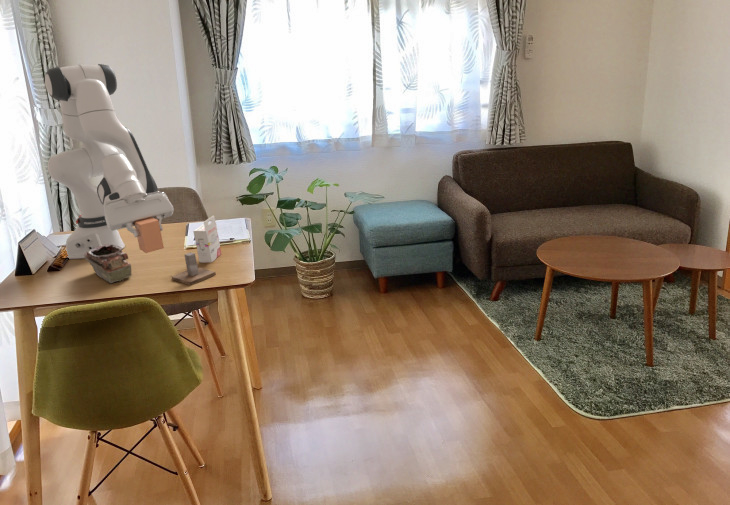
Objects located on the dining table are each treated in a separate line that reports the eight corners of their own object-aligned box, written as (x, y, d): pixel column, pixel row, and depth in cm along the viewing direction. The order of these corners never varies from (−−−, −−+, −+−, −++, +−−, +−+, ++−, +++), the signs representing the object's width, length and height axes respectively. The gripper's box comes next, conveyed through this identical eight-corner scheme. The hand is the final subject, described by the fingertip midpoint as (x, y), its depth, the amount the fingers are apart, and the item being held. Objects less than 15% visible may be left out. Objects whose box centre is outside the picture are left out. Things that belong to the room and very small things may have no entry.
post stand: (171, 279, 203) (167, 256, 201) (197, 269, 211) (193, 246, 208) (190, 285, 197) (185, 261, 195) (215, 274, 204) (211, 251, 202)
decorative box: (93, 290, 200) (86, 262, 196) (78, 274, 215) (71, 248, 212) (134, 278, 207) (128, 251, 204) (117, 264, 222) (111, 238, 219)
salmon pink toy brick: (139, 249, 194) (133, 221, 191) (157, 244, 197) (151, 217, 194) (146, 253, 190) (140, 224, 187) (163, 248, 193) (158, 220, 190)
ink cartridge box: (209, 254, 225) (202, 214, 220) (221, 254, 223) (215, 214, 218) (198, 262, 217) (191, 222, 212) (211, 262, 216) (204, 222, 211)
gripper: (162, 195, 203) (179, 230, 199) (98, 210, 192) (115, 247, 188) (165, 184, 199) (183, 219, 195) (99, 198, 187) (117, 235, 183)
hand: (149, 233), depth 191 cm, fingers closed on salmon pink toy brick, 6 cm apart
